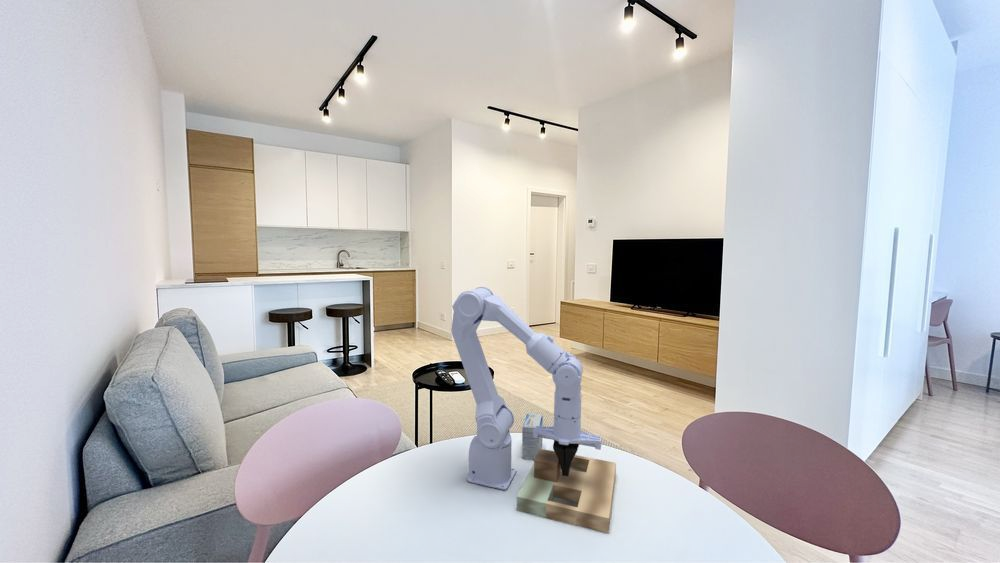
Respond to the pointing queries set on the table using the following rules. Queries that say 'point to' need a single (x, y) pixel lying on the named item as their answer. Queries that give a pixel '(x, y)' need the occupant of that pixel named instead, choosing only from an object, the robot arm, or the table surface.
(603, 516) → the board
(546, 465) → the walnut block
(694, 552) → the table surface
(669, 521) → the table surface
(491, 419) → the robot arm
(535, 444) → the medicine box
